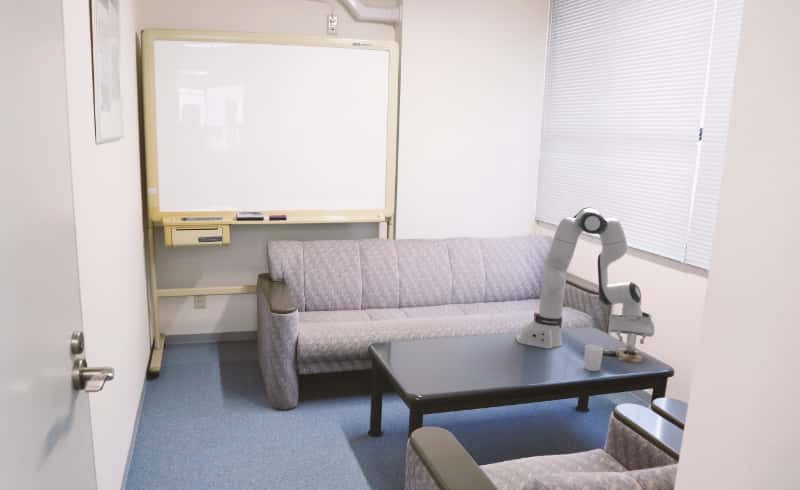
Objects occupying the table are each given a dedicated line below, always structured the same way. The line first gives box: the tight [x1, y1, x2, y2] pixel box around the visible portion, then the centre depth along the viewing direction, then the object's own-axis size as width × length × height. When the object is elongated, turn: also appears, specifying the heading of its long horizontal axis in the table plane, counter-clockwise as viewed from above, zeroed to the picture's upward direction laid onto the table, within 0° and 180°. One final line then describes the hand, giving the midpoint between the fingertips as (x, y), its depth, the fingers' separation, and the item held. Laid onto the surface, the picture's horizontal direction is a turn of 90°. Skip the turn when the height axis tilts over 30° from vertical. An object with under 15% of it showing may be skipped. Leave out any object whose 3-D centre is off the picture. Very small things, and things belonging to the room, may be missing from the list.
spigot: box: [625, 332, 638, 355], centre depth 286 cm, size 4×4×12 cm
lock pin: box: [602, 349, 617, 357], centre depth 290 cm, size 8×2×2 cm
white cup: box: [583, 343, 604, 372], centre depth 270 cm, size 8×8×10 cm
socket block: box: [616, 347, 643, 364], centre depth 287 cm, size 10×10×2 cm
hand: (631, 341), depth 285 cm, fingers open, 8 cm apart
